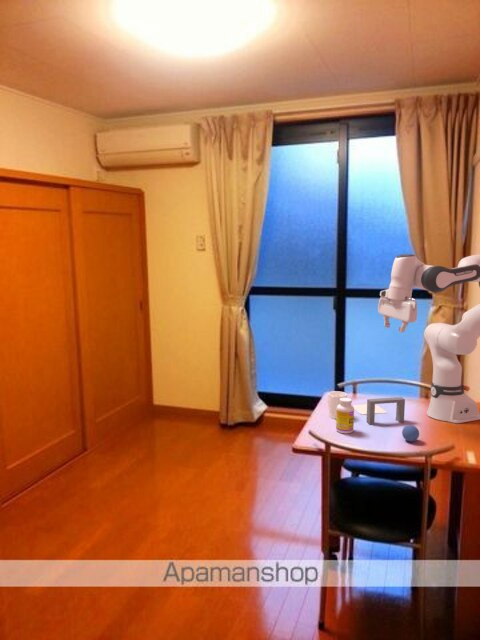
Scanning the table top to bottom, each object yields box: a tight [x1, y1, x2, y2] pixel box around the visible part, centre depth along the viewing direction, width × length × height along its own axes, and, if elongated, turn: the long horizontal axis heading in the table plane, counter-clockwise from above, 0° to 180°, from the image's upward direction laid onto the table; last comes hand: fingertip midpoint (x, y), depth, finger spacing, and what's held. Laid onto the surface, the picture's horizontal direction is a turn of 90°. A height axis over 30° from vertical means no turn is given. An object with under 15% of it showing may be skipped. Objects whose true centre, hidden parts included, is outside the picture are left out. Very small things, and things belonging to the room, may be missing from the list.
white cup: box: [327, 390, 348, 420], centre depth 208 cm, size 8×8×10 cm
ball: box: [401, 424, 420, 443], centre depth 182 cm, size 6×6×6 cm
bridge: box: [366, 396, 406, 425], centre depth 201 cm, size 3×15×10 cm, turn 100°
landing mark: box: [351, 403, 388, 416], centre depth 218 cm, size 12×12×1 cm
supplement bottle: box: [335, 397, 355, 435], centre depth 192 cm, size 7×7×13 cm
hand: (394, 329), depth 196 cm, fingers open, 8 cm apart
